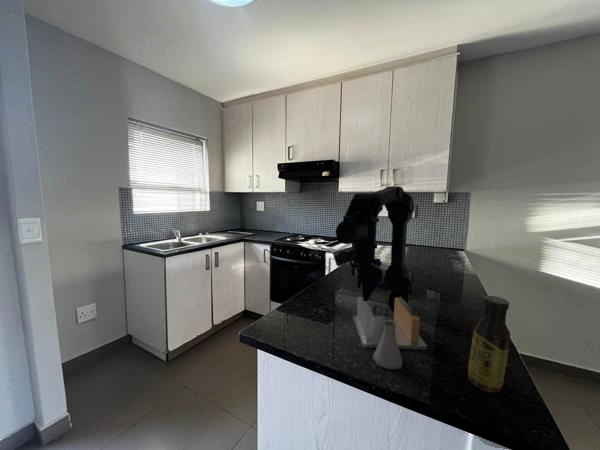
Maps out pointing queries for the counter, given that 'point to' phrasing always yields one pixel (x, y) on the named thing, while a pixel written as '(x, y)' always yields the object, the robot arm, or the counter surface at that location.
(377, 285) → the potion bottle
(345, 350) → the counter surface
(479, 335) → the sauce bottle
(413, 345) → the vise base
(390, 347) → the flask
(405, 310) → the block
